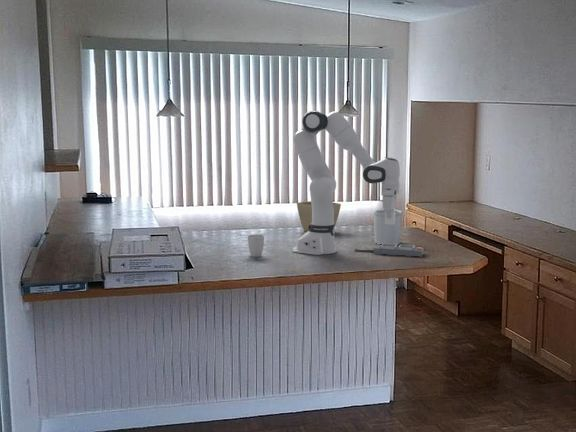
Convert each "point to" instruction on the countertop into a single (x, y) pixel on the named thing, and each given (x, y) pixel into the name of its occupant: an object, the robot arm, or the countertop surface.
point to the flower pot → (306, 213)
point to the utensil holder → (386, 228)
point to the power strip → (396, 250)
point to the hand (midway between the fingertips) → (389, 217)
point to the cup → (256, 245)
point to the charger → (392, 219)
